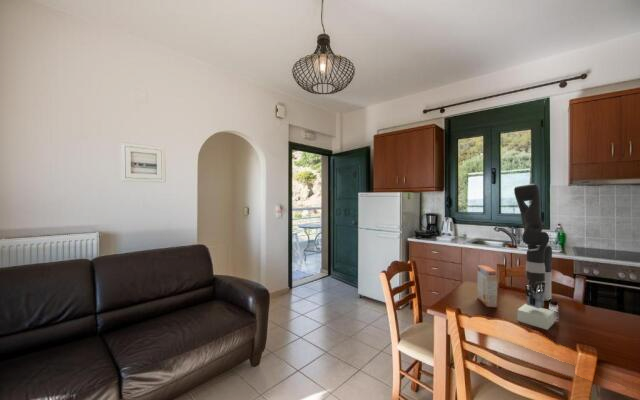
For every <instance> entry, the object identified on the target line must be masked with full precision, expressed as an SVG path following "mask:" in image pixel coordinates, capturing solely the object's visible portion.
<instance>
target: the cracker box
mask: <svg viewBox="0 0 640 400" xmlns="http://www.w3.org/2000/svg"><path fill="white" fill-rule="evenodd" d="M477 299H478V300H479V301H480V302H481V303H483V305H484V306H485V307H487V308H498V271H497V270H495V269H493V268H492V267H490V266H488V265H483V264H482V265H481V264H480V265H479V264H478V265H477Z"/></svg>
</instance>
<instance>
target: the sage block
mask: <svg viewBox="0 0 640 400" xmlns="http://www.w3.org/2000/svg"><path fill="white" fill-rule="evenodd" d="M516 315H517V321H518V322H521V323H524V324H527V325H530V326H533V327H537V328H540V329H544V330H546V331H548V330H549V329H550V328H551V327H552V326H553V325H554V324H555V311H554V310H553V309H547V308H544V307H541V308H536V307H533V306H529V305H527V303H524V304H523V305H522V306H520V307H519V308H518V309H517V314H516Z"/></svg>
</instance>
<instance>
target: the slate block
mask: <svg viewBox="0 0 640 400" xmlns="http://www.w3.org/2000/svg"><path fill="white" fill-rule="evenodd" d="M533 292H535V291H533ZM533 294H534V293H533ZM526 304H527V305H529V306H533V307H536V308H544V307H545V300H544V293H543V292H537V294H536V296H535V305H530V297H528V296H527V295H526Z"/></svg>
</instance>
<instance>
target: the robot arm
mask: <svg viewBox="0 0 640 400" xmlns="http://www.w3.org/2000/svg"><path fill="white" fill-rule="evenodd" d="M514 196H515V199H516V203H517V206H518V208H519V213H520V218H521V222H522V226H523V232H522V238H521V240H522V242H523V243H524V244H526V245H527V250H526V263H525V278H526V280H528V281H529V282H528V284H526V285H525V286H524V287H525V288H524V289H525V294H526V297H527V296H528V297H530V305H535V296H536V294H537V292H543V293H544V302H545V301H546V302H547V301H549V300H550V299H551V300H552V258H553V249H552V248H553V247H552V246H551V245H549V241H550V235H549V234H548V233H547V232H546V231H544V230H543V229H544V225H543V219H542V217H541V212H540V211H541V199H540V196H541V195H540V190H539V187H538V185H537V184H535V183H528V184H523V185H517V186H515V187H514ZM528 201H531V204H530V205H529V206H528V204H526V203H525V202H528ZM533 291H535V292H533ZM533 293H534V294H533ZM551 300H550V301H551Z"/></svg>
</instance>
